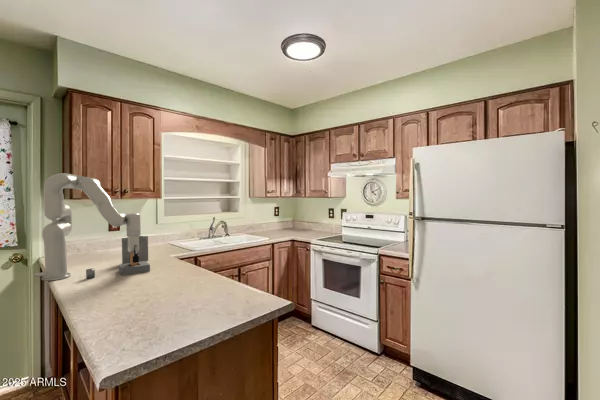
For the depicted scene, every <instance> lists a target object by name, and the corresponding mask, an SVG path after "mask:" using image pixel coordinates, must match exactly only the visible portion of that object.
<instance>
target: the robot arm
mask: <svg viewBox="0 0 600 400" xmlns="http://www.w3.org/2000/svg"><path fill="white" fill-rule="evenodd" d="M64 189H74V190H79V191H82V192H83V193H84V194H85V195H86V196H87V197H88V198H89V199H90V201H91V202H92V203H93V205H94V206H95V208H96V209H97V211H99V214H100V215H101V216H102V217H103V219H104V220H105V221H106V222H107V223H108V224H109V225H110V226H112V227H115V228H119V227H121V226H124V225H126V237H128V251H129V252H130V253H131V252H133V263H136V262H139V254H138V252H139V236H142V235H141V234H142V233H141V231H142V230H141V214H140V213H137V212H135V213H134V212H130V213H123V212H120V213H119V212H118V211H117V209H116V208H115V207H114V205H113V204H112V201H111V197H110V196H109V195H108V193H107V192H106V191H105V190H104V189H103V188H102V185H101V182H100V180H99V179H97V178H95V177H90V176H88V177H87V176H83V175H78V174H72V173H67V172H63V173H62V172H61V173H55V174H53V175H51V176H49V177H48V178H47V179H46V180H45V181H44V185H43V197H44V199H43V203H44V204H43V205H44V206H43V209H44V210H43V212H44V216H45V218H46V219H47V220H49V221H52V222H50V223H47V225H45V226H44V227H43V229H42V231H41V232H42V233H41V234H42V240H43V247H44V271H42V272H36V273H34V278H39V277H41V280H42V281H47V282H48V281H49V282H51V281H58V280H63V279H66V278H69V277H70V276H71V273H70V272H68V264H67V263H68V262H67V261H68V260H67V259H68V258H67V255H68V254H67V242H66V238H65V237H67V236H68V235H70V233H71V232H72V229H73V227H72V226H73V221H72V217H73V215H72V214H73V213H72V209H71V207H70V205H69V204H66V203H65V199H64V198H65V197H64Z"/></svg>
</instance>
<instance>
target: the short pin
mask: <svg viewBox="0 0 600 400" xmlns="http://www.w3.org/2000/svg"><path fill="white" fill-rule="evenodd" d="M95 270H96V269H95V268H94V267H92V268H87V269H85V279H86V280H92V279H95V278H96V273H95V272H96V271H95Z"/></svg>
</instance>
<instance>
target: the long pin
mask: <svg viewBox="0 0 600 400" xmlns="http://www.w3.org/2000/svg"><path fill="white" fill-rule="evenodd" d="M130 263H131V266H136V265H138V262H136V263H133V252H131V253H130Z"/></svg>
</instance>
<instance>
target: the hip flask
mask: <svg viewBox="0 0 600 400" xmlns="http://www.w3.org/2000/svg"><path fill="white" fill-rule="evenodd" d="M138 254H139V262H141V261H146V262H149V236H148V235H140V236H139V252H138ZM121 263H122V264H127V263H130V252H129V251H128V236H126V237H121Z"/></svg>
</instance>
